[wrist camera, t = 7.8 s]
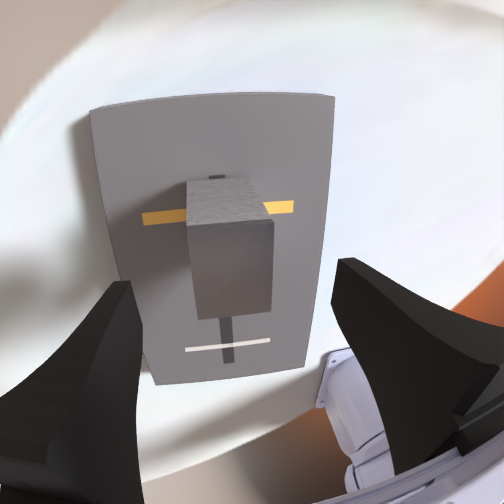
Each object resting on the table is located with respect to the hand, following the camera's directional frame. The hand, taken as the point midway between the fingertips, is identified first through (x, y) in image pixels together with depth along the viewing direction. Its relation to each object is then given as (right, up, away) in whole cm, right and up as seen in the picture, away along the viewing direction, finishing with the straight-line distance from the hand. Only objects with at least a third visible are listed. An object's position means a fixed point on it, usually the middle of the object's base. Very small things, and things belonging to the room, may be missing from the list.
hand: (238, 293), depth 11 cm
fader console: (-2, +1, +9) cm, 10 cm away
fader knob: (-1, +3, +5) cm, 6 cm away
